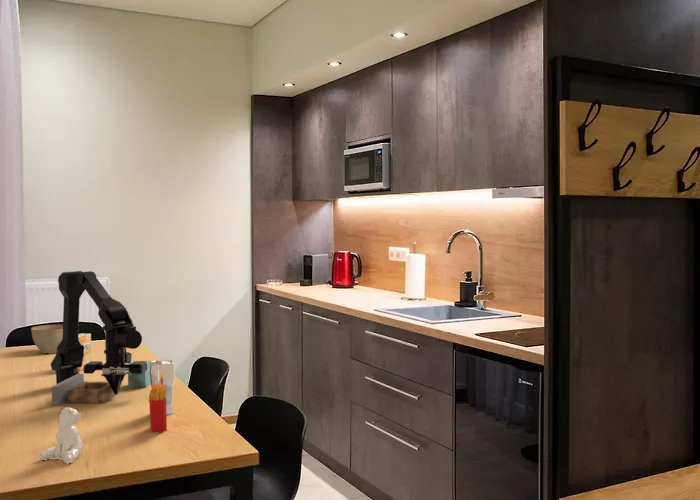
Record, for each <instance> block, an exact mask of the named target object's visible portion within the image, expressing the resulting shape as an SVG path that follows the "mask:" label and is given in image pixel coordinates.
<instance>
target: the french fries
mask: <svg viewBox="0 0 700 500" xmlns="http://www.w3.org/2000/svg"><path fill="white" fill-rule="evenodd" d="M165 387H166V386H165V385H162V384H161V385H160V386H159V384H158V385H157V384H153V385H152V388H151V389H150V390H149V396H148V399H149V421H150V431H151V432H152V431H153V432H152V433H155V432H159V433H165V432H166V431H167V427H168V426H167V425H168V423H167V415H166V397H165V391H166V388H165ZM164 431H165V432H164Z"/></svg>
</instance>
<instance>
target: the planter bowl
mask: <svg viewBox="0 0 700 500" xmlns="http://www.w3.org/2000/svg"><path fill="white" fill-rule="evenodd" d="M30 331H31V336H32V337H31V338H32V341H33V343H34V344H35V346H36V348H37V349H38V350H39V352H41V353H40V354H46V353H48V354H56V352H57V347H58V345H59V344H60V342H61V341H62V338H63V324H45V325H38V326H33V327H31V328H30Z"/></svg>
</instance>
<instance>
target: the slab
mask: <svg viewBox="0 0 700 500" xmlns="http://www.w3.org/2000/svg"><path fill="white" fill-rule="evenodd" d="M84 375H85V374H84V373H79V374H76V375H74V376H72V377H70V378H68V379H66V380H64V381H62V382H60V383H58V384H54V385H52V386H51V407H60V406H62V405H63V404H65V403H67V390H68V389H70V388H72V387H74V386H76V385H78V384H80V383H82V382H85V376H84Z"/></svg>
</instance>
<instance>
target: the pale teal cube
mask: <svg viewBox="0 0 700 500" xmlns="http://www.w3.org/2000/svg"><path fill="white" fill-rule="evenodd" d="M135 361H136V360H133V361H131V363H133V362H135ZM144 361H145V362H146V363H147V370H146V371H144V372H143V373H140V374H131V373H130V372H129V373H128V374H127V384H128V385H127V387H128V389H134V388H135V389H137V388H138V389H140V388H142V389H144V388H145V389H146V388H148V387H149V386H151V382H150V365H151V362H152V361H151V360H144ZM131 363H129V364H131Z"/></svg>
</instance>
